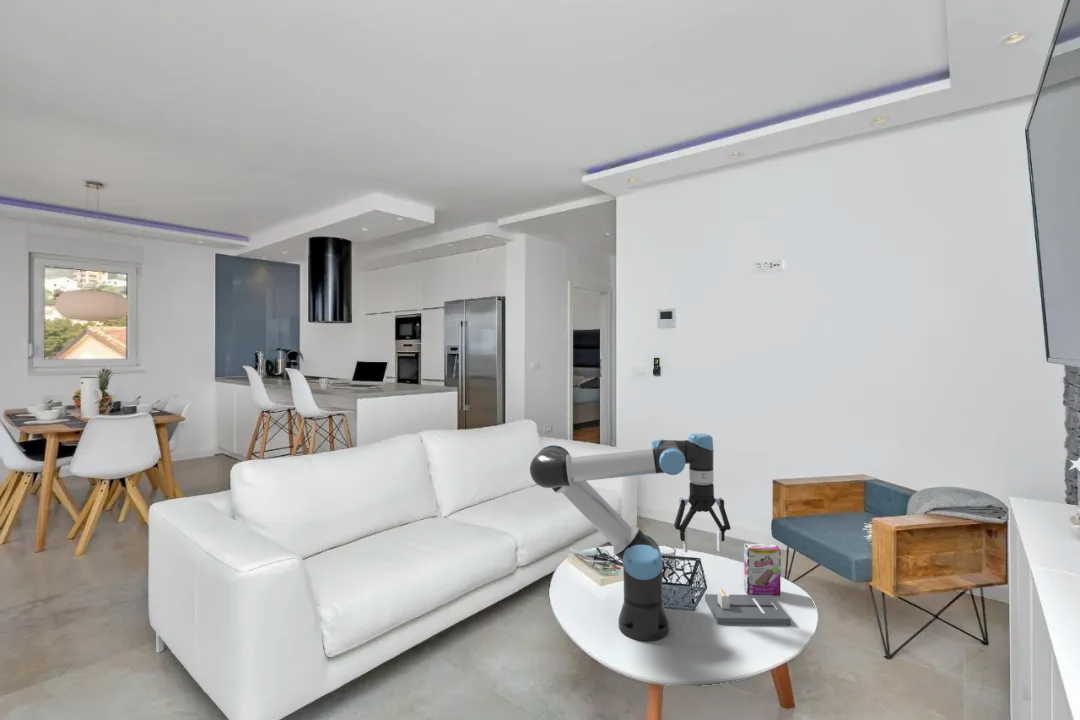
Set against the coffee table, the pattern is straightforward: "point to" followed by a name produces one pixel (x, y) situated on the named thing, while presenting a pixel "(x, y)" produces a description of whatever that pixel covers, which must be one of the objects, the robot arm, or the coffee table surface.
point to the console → (748, 610)
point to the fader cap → (723, 599)
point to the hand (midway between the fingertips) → (702, 550)
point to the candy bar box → (762, 569)
